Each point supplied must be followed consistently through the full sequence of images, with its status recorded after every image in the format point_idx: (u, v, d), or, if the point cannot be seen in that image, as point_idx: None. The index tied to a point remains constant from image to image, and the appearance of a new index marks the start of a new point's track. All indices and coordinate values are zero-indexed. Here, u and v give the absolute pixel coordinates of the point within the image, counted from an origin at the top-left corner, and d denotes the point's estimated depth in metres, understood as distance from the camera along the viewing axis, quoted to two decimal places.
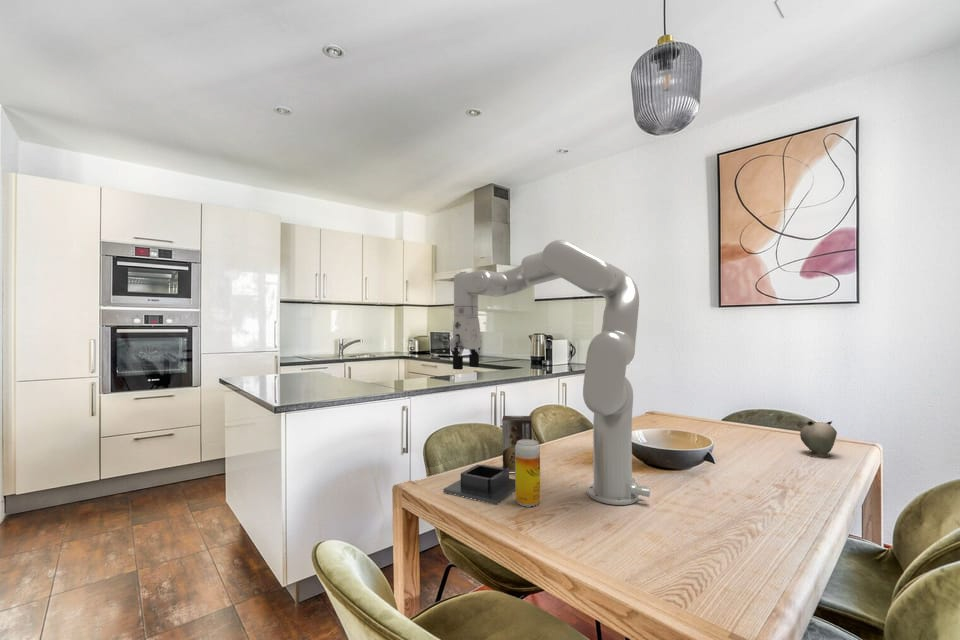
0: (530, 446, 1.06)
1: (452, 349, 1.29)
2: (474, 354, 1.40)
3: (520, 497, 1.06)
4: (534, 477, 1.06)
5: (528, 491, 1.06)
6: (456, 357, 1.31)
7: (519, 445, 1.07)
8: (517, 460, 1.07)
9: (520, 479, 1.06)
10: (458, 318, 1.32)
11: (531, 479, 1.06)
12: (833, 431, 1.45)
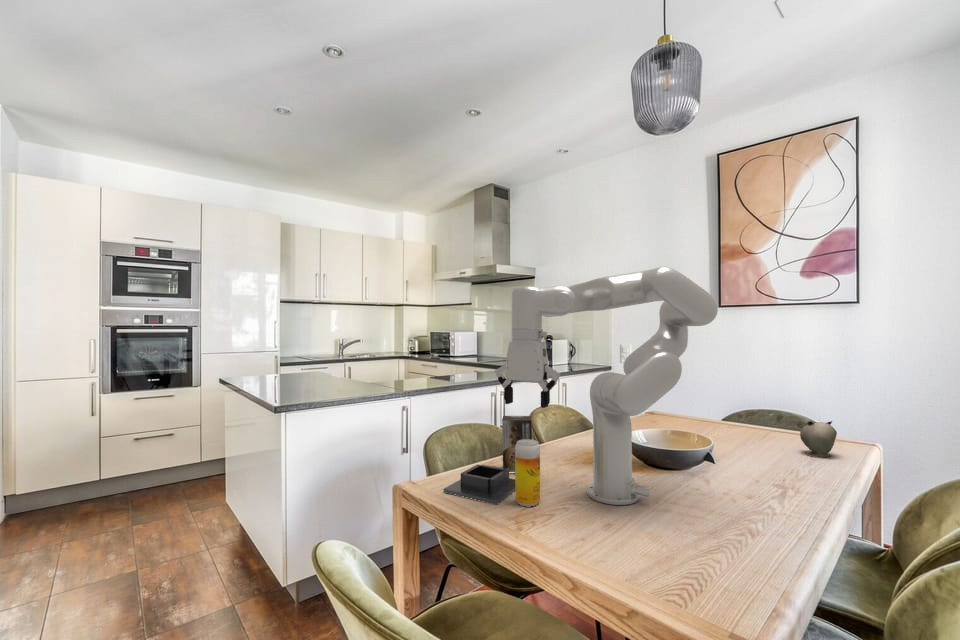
0: (530, 446, 1.06)
1: (555, 382, 1.05)
2: (510, 387, 1.12)
3: (520, 497, 1.06)
4: (534, 477, 1.06)
5: (528, 491, 1.06)
6: (548, 392, 1.06)
7: (519, 445, 1.07)
8: (517, 460, 1.07)
9: (520, 479, 1.06)
10: (543, 344, 1.07)
11: (531, 479, 1.06)
12: (833, 431, 1.45)
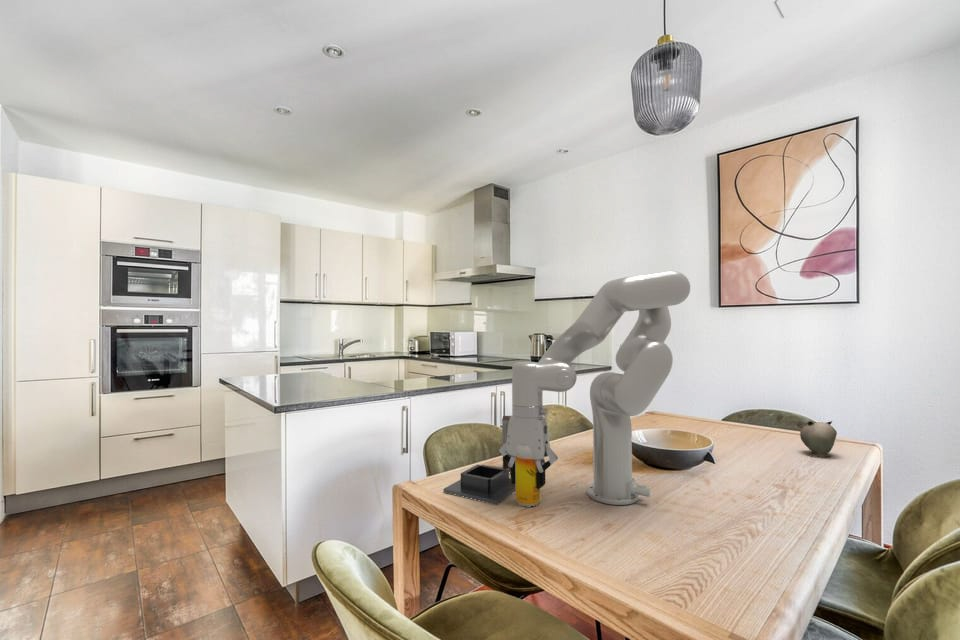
0: None
1: (550, 464, 1.06)
2: None
3: (520, 497, 1.06)
4: (534, 477, 1.06)
5: (528, 491, 1.06)
6: (544, 472, 1.07)
7: (519, 445, 1.07)
8: (517, 460, 1.07)
9: (520, 479, 1.06)
10: (544, 421, 1.07)
11: (530, 479, 1.06)
12: (833, 431, 1.45)
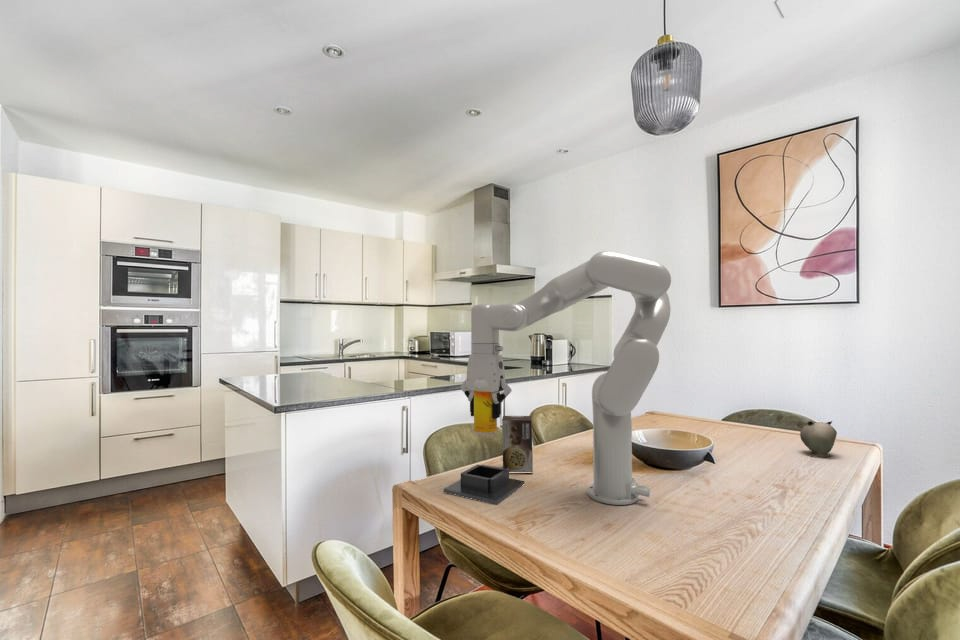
0: None
1: (505, 396, 1.16)
2: None
3: (477, 427, 1.16)
4: (490, 408, 1.16)
5: (484, 421, 1.16)
6: (499, 404, 1.17)
7: (477, 379, 1.17)
8: (475, 393, 1.17)
9: (477, 410, 1.16)
10: (499, 357, 1.17)
11: (487, 410, 1.16)
12: (833, 431, 1.45)
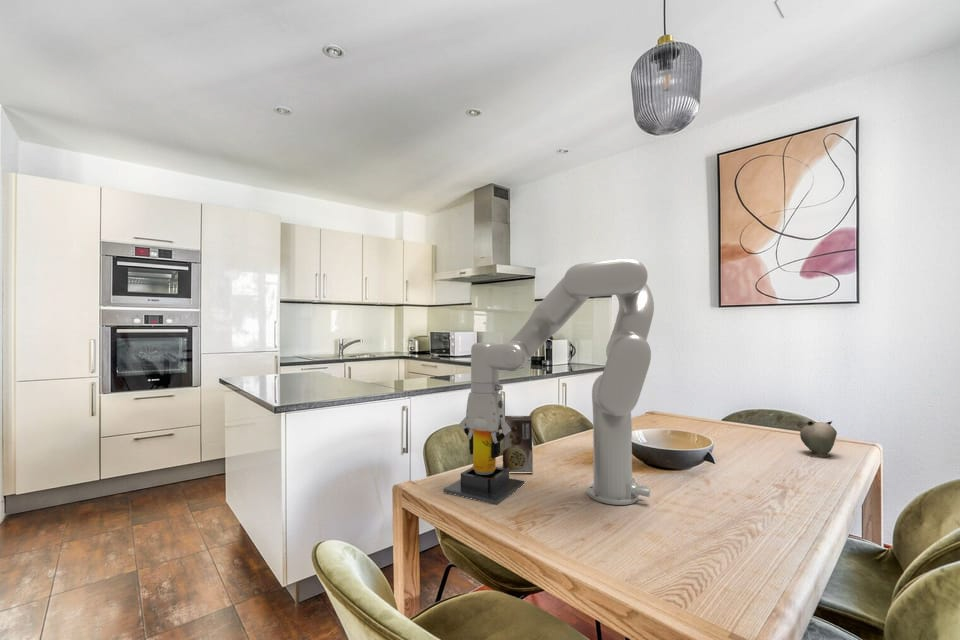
0: None
1: (504, 436, 1.16)
2: None
3: (477, 466, 1.16)
4: (489, 447, 1.16)
5: (484, 460, 1.16)
6: (499, 443, 1.17)
7: (476, 418, 1.17)
8: (474, 432, 1.17)
9: (477, 449, 1.16)
10: (499, 396, 1.17)
11: (486, 449, 1.16)
12: (833, 431, 1.45)
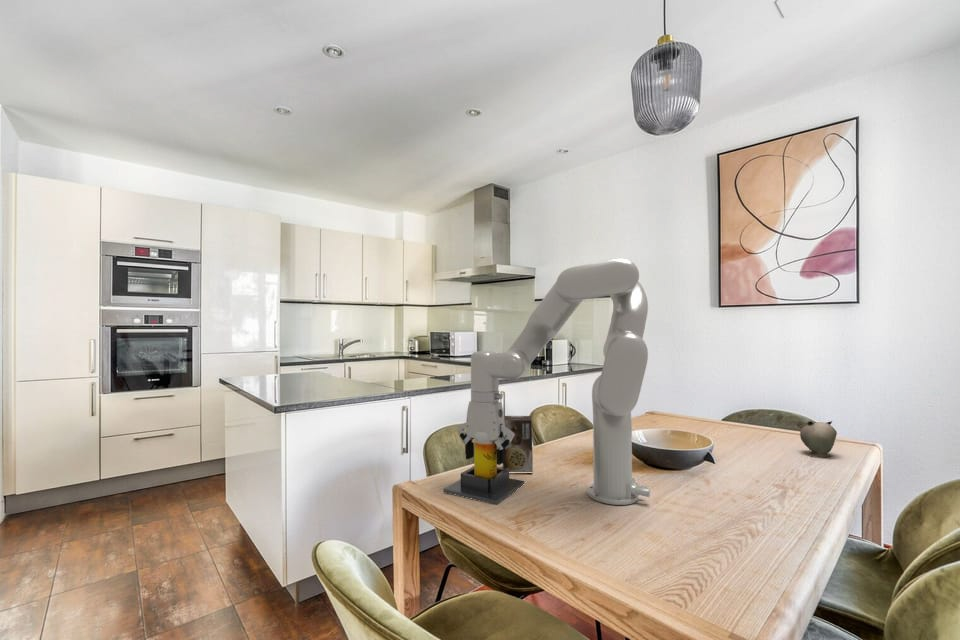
0: None
1: (510, 441, 1.15)
2: (471, 443, 1.21)
3: None
4: (490, 460, 1.16)
5: (485, 473, 1.15)
6: (504, 449, 1.16)
7: (477, 431, 1.17)
8: (475, 445, 1.17)
9: (478, 463, 1.16)
10: (499, 405, 1.17)
11: (487, 462, 1.16)
12: (833, 431, 1.45)
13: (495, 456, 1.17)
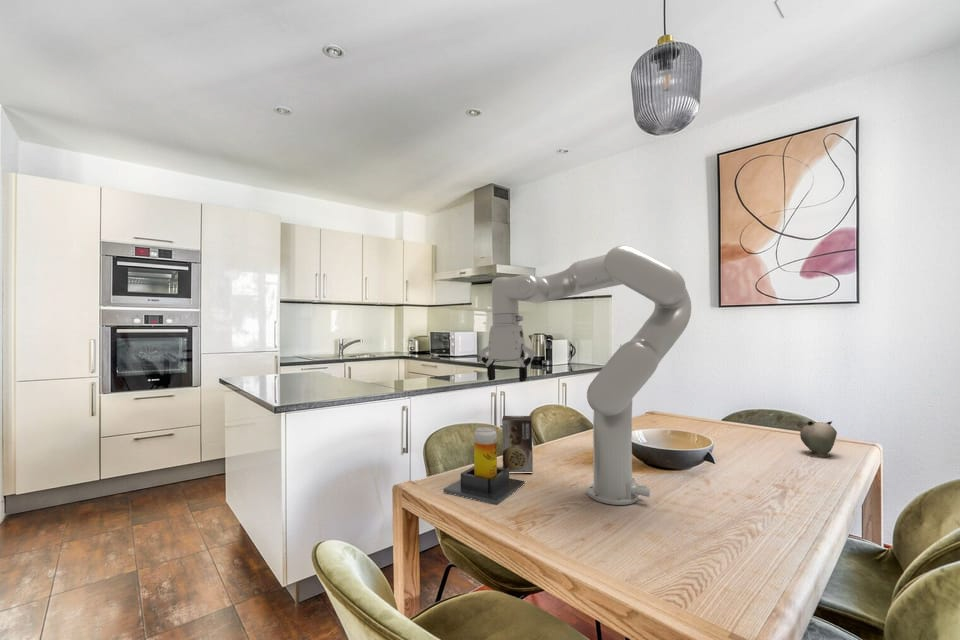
0: (487, 432, 1.16)
1: (531, 359, 1.22)
2: (492, 366, 1.28)
3: None
4: (490, 460, 1.16)
5: (485, 474, 1.15)
6: (526, 368, 1.23)
7: (477, 432, 1.17)
8: (475, 445, 1.17)
9: (478, 463, 1.16)
10: (520, 326, 1.24)
11: (487, 462, 1.16)
12: (833, 431, 1.45)
13: (495, 456, 1.17)
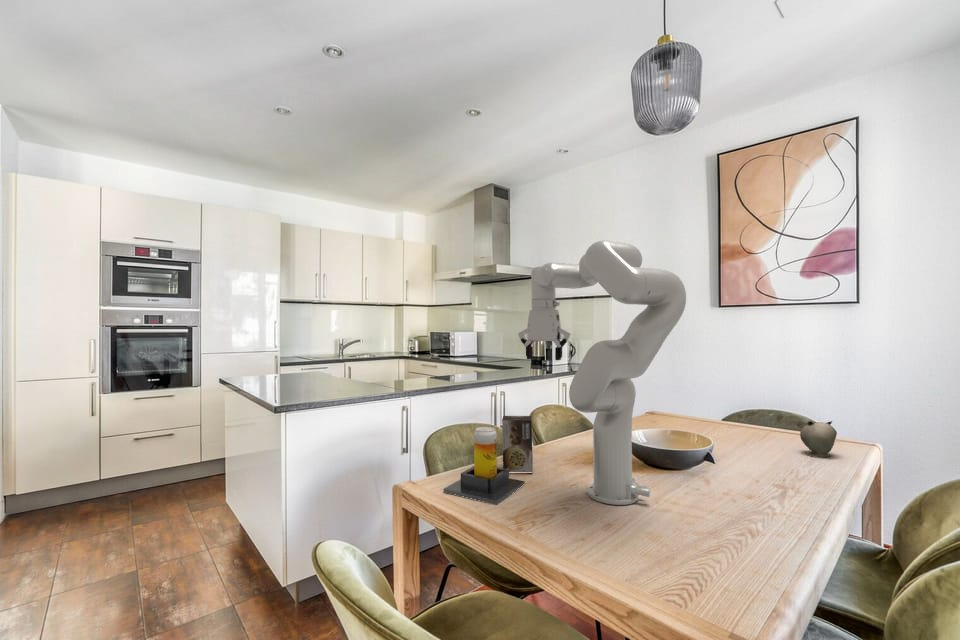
0: (487, 432, 1.16)
1: (566, 340, 1.35)
2: (530, 346, 1.42)
3: None
4: (490, 460, 1.16)
5: (485, 474, 1.15)
6: (561, 348, 1.37)
7: (477, 432, 1.17)
8: (475, 445, 1.17)
9: (478, 463, 1.16)
10: (556, 311, 1.37)
11: (487, 462, 1.15)
12: (833, 431, 1.45)
13: (495, 456, 1.17)
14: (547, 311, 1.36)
